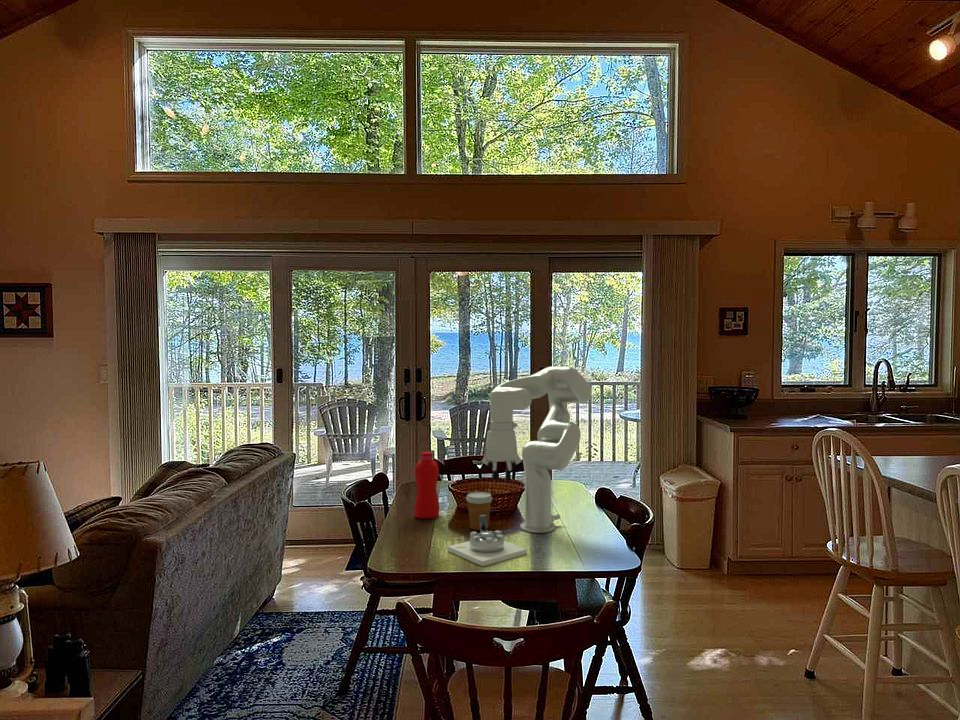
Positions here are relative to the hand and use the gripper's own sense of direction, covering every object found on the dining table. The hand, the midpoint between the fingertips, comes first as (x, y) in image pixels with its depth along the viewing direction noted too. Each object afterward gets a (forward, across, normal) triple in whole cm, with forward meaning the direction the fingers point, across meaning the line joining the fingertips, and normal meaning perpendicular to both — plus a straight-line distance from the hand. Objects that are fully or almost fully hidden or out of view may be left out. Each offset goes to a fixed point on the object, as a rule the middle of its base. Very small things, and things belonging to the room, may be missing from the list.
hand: (501, 481), depth 210 cm
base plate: (+21, +6, +7) cm, 23 cm away
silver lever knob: (+20, +6, +5) cm, 21 cm away
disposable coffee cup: (+21, +6, -21) cm, 30 cm away
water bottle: (+21, +24, -38) cm, 50 cm away
